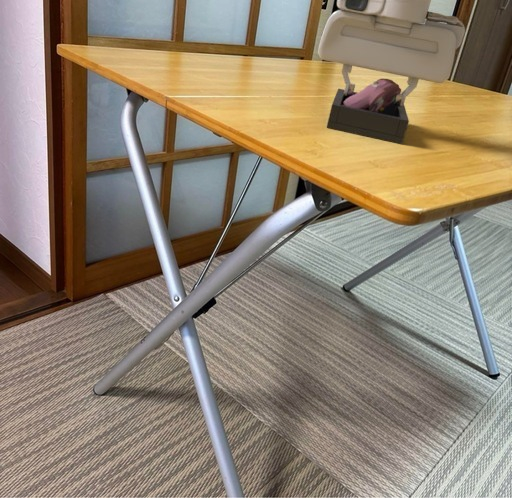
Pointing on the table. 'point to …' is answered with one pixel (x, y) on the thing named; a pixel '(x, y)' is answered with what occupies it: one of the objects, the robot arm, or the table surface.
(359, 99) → the video game controller
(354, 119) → the open box
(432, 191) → the table surface
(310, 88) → the table surface
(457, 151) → the table surface
